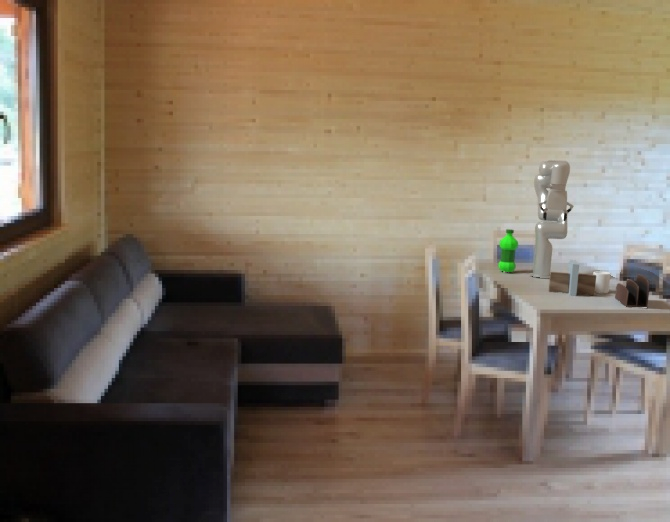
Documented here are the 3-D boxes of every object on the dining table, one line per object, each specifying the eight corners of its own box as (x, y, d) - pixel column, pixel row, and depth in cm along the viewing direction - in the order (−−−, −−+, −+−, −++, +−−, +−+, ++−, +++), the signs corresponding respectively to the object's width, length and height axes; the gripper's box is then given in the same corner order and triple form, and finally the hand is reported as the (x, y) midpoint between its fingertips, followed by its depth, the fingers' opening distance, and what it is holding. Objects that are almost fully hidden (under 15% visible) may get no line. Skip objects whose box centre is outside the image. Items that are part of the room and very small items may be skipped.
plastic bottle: (494, 272, 409) (498, 229, 405) (502, 270, 417) (505, 228, 413) (510, 274, 403) (514, 231, 399) (518, 272, 411) (521, 230, 407)
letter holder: (635, 299, 349) (638, 272, 346) (647, 309, 329) (651, 279, 327) (614, 298, 350) (617, 270, 347) (625, 307, 330) (628, 278, 328)
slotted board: (548, 290, 361) (550, 271, 360) (593, 294, 358) (595, 274, 356) (549, 291, 359) (551, 272, 357) (594, 295, 355) (596, 275, 353)
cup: (596, 293, 360) (598, 273, 358) (585, 288, 371) (587, 269, 370) (611, 293, 361) (613, 274, 359) (600, 288, 372) (602, 269, 371)
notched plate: (566, 290, 365) (569, 259, 362) (572, 290, 365) (575, 260, 362) (569, 295, 352) (573, 264, 349) (576, 296, 351) (579, 264, 348)
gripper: (541, 187, 359) (538, 220, 363) (576, 189, 357) (573, 222, 360) (539, 186, 367) (536, 218, 370) (574, 187, 364) (570, 220, 367)
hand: (554, 220), depth 365 cm, fingers open, 9 cm apart
